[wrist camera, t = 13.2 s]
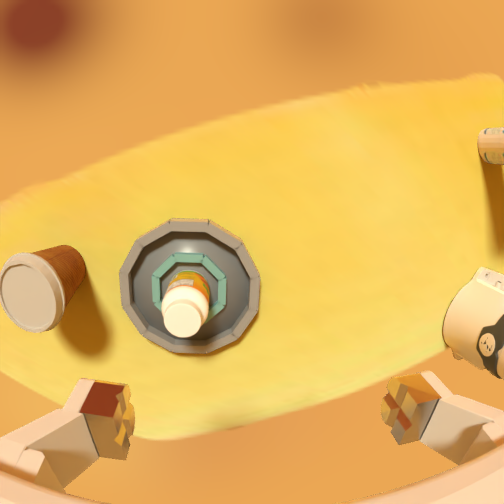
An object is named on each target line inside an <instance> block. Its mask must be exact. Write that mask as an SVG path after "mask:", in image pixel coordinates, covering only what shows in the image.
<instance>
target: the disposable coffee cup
mask: <svg viewBox="0 0 504 504" xmlns="http://www.w3.org/2000/svg"><path fill="white" fill-rule="evenodd" d="M85 270H86V269H85V263H84V260H83V258H82V256H81V255H80V253H79V252H78V251H77V250H76V249H74V248H73V247H71V246H68V245H61V246H57V247H53V248H49V249H45V250H41V251H38V252H34V253H19V254H15V255H13V256H12V257H10V258H9V259H8V260H7V261H6V263H5V264H4V266H3V268H2V270H1V272H0V302H1V305H2V307H3V309H4V311H5V313H6V314H7V315H8V317H9V318H10V319H11V321H13V322H14V323H15V324H16V325H17V326H18V327H20V328H22V329H24V330H26V331H29V332H33V333H37V332H43V331H49V330H51V329H53V328H54V327H55V326H56V325H58V323H59V322H60V320H61V319H62V316H63V314H64V309H65V307H66V305H67V304H68V302H69V301H70V299H71V297H72V296H73V294H74V293H75V291H76V290H77V288H78V287H79V285H80V284H81V282H82V281H83V279H84V277H85Z"/></svg>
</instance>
